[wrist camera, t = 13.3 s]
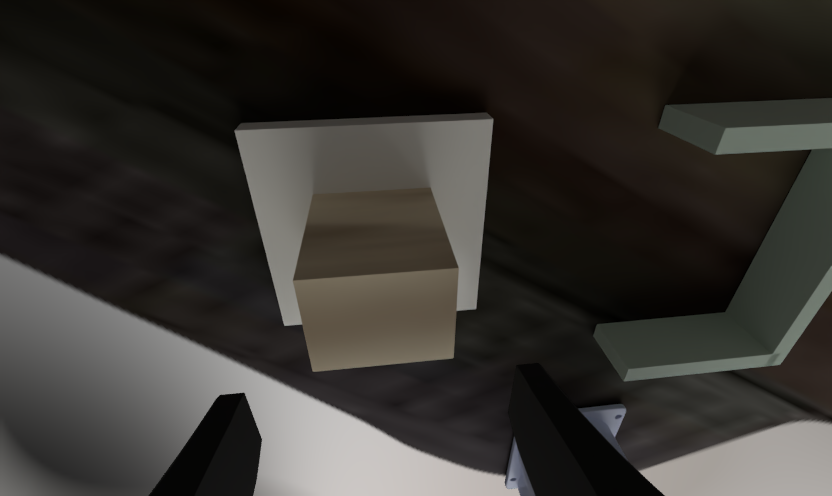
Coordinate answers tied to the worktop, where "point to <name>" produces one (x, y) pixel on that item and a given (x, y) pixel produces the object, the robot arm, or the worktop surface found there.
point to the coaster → (367, 181)
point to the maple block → (376, 280)
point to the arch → (772, 265)
